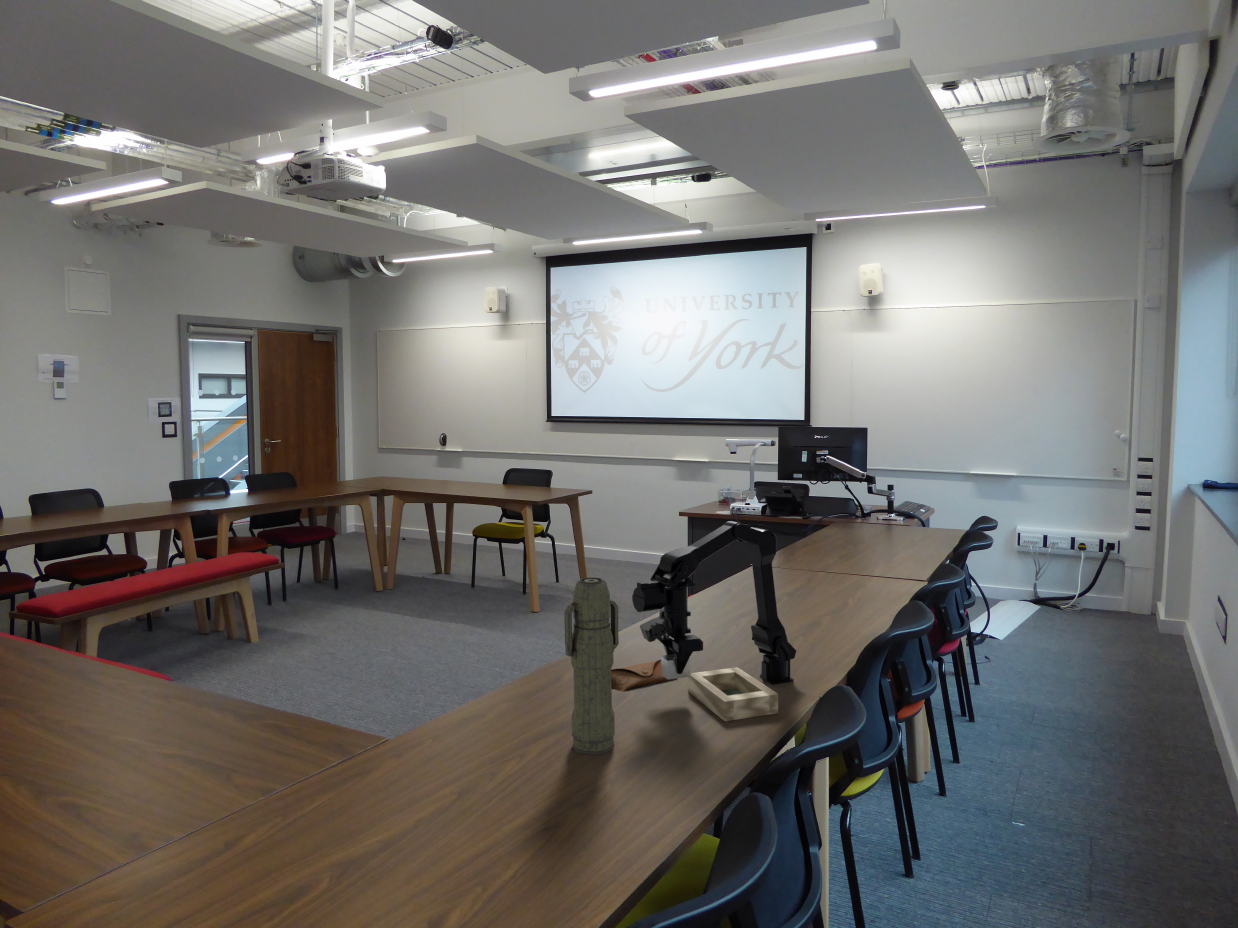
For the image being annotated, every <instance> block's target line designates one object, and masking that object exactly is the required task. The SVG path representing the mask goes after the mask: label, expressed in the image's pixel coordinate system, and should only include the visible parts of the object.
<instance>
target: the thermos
mask: <svg viewBox="0 0 1238 928" xmlns="http://www.w3.org/2000/svg"><path fill="white" fill-rule="evenodd" d="M572 600H573V602H571V603H570V604H568V605H567V606H566V608H565V610H564V614H563V615H564V649H565V656H568V657H570V664H571V666H572V669H573V709H572V713H571V737H572V748H573V750H574V751H575V752H577V753H579V754H582V755H587V756H588V755H591V756H593V755H594V756H595V755H602V754H606V753H609V752H610V751H612V750H613V749H614V747H615V740H614V739H615V738H614V737H615V734H616V733H615V730H616V729H615V726H616V725H615V724H616V723H615V712H614V708H613V706H612V705H613V704H612V702H613V701H612V693H613V692H612V689H613V687H611V670H612V667H613V665H614V652H615V650H616V649H617V647H618V646H619V640H620V639H619V606H618V604H617V602H616V601H614V600H613V599H611V593H610V590H609V585H608V584H607V581H606V580H604V579H602V578H600V577H585V578H581V579H580V580H577V581H576V583H575V587H574V589H573V593H572ZM572 615H573V616H572ZM573 619H574V623H573Z"/></svg>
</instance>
